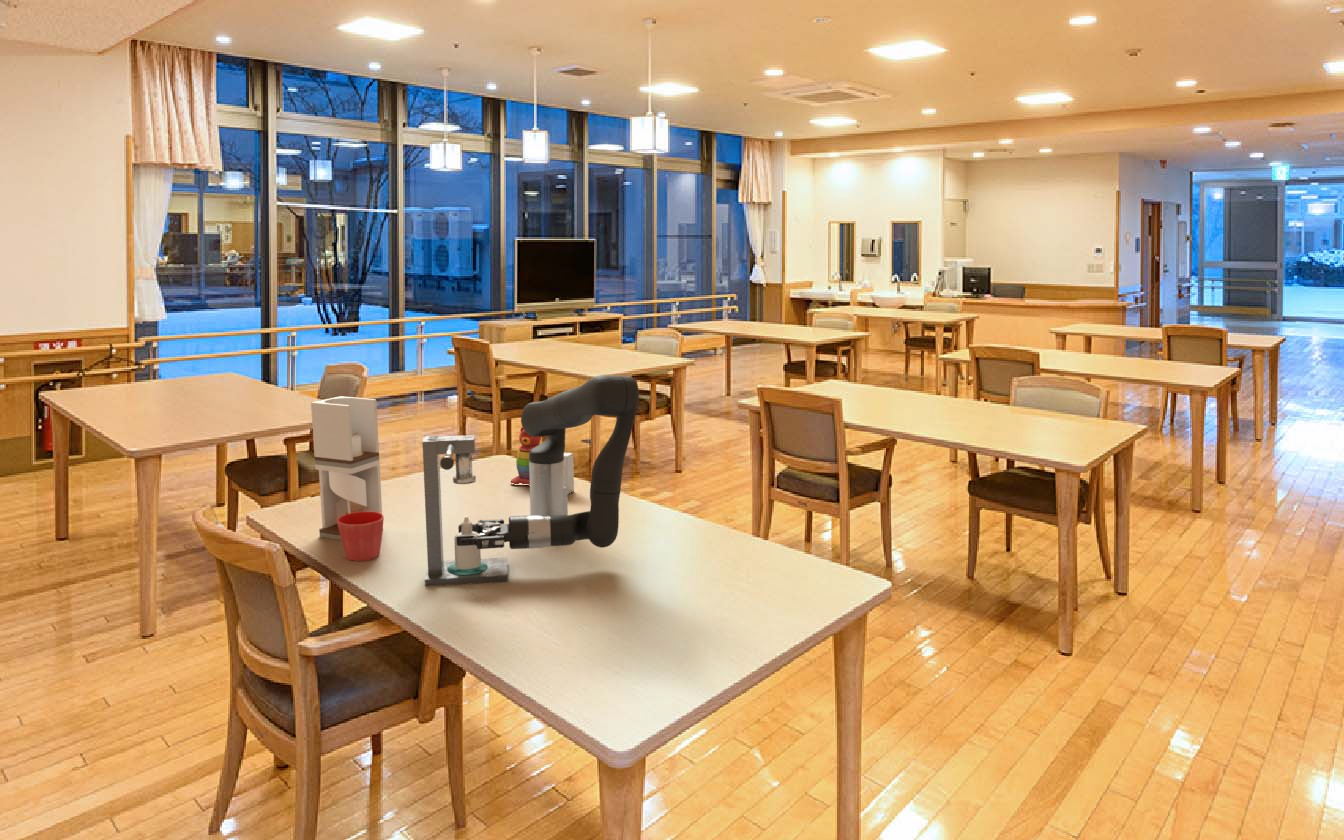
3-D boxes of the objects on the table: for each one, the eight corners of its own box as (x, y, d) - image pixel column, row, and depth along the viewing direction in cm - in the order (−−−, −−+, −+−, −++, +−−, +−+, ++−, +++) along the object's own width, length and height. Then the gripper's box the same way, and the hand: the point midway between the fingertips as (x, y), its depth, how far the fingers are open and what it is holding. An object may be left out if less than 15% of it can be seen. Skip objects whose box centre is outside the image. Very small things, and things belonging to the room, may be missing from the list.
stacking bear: (507, 485, 294) (506, 429, 290) (523, 477, 303) (522, 423, 300) (538, 488, 290) (537, 432, 287) (553, 480, 299) (553, 426, 296)
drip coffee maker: (319, 536, 242) (310, 402, 235) (348, 525, 252) (340, 396, 245) (355, 542, 238) (347, 405, 231) (383, 530, 247) (376, 399, 241)
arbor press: (507, 563, 223) (504, 431, 217) (507, 603, 199) (503, 455, 193) (429, 567, 220) (423, 433, 214) (420, 608, 196) (413, 458, 190)
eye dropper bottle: (459, 563, 218) (458, 513, 216) (483, 564, 217) (481, 514, 215) (452, 569, 214) (450, 518, 212) (476, 571, 213) (474, 520, 211)
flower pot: (343, 566, 221) (340, 526, 219) (336, 552, 230) (333, 514, 228) (389, 559, 225) (387, 520, 224) (380, 546, 235) (378, 508, 233)
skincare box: (574, 491, 287) (574, 453, 285) (568, 494, 283) (567, 456, 281) (556, 489, 289) (555, 451, 287) (550, 493, 285) (549, 454, 283)
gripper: (528, 507, 223) (458, 510, 220) (530, 525, 209) (455, 528, 206) (529, 537, 224) (459, 541, 221) (531, 557, 210) (456, 561, 208)
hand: (457, 535), depth 214 cm, fingers open, 8 cm apart
